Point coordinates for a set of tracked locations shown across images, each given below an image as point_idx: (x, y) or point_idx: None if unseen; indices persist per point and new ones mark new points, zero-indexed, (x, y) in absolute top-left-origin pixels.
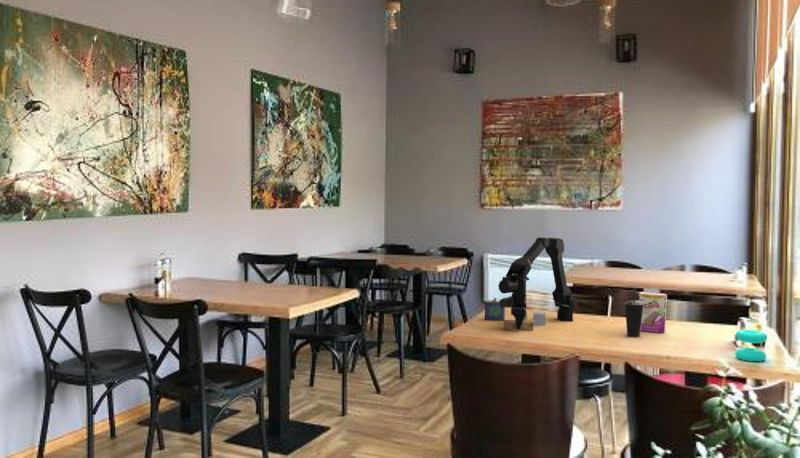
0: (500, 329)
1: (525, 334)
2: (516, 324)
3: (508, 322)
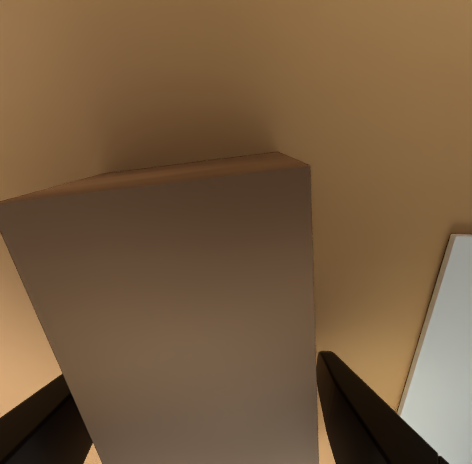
0: (181, 98)
1: (2, 391)
2: (38, 394)
3: (31, 280)
